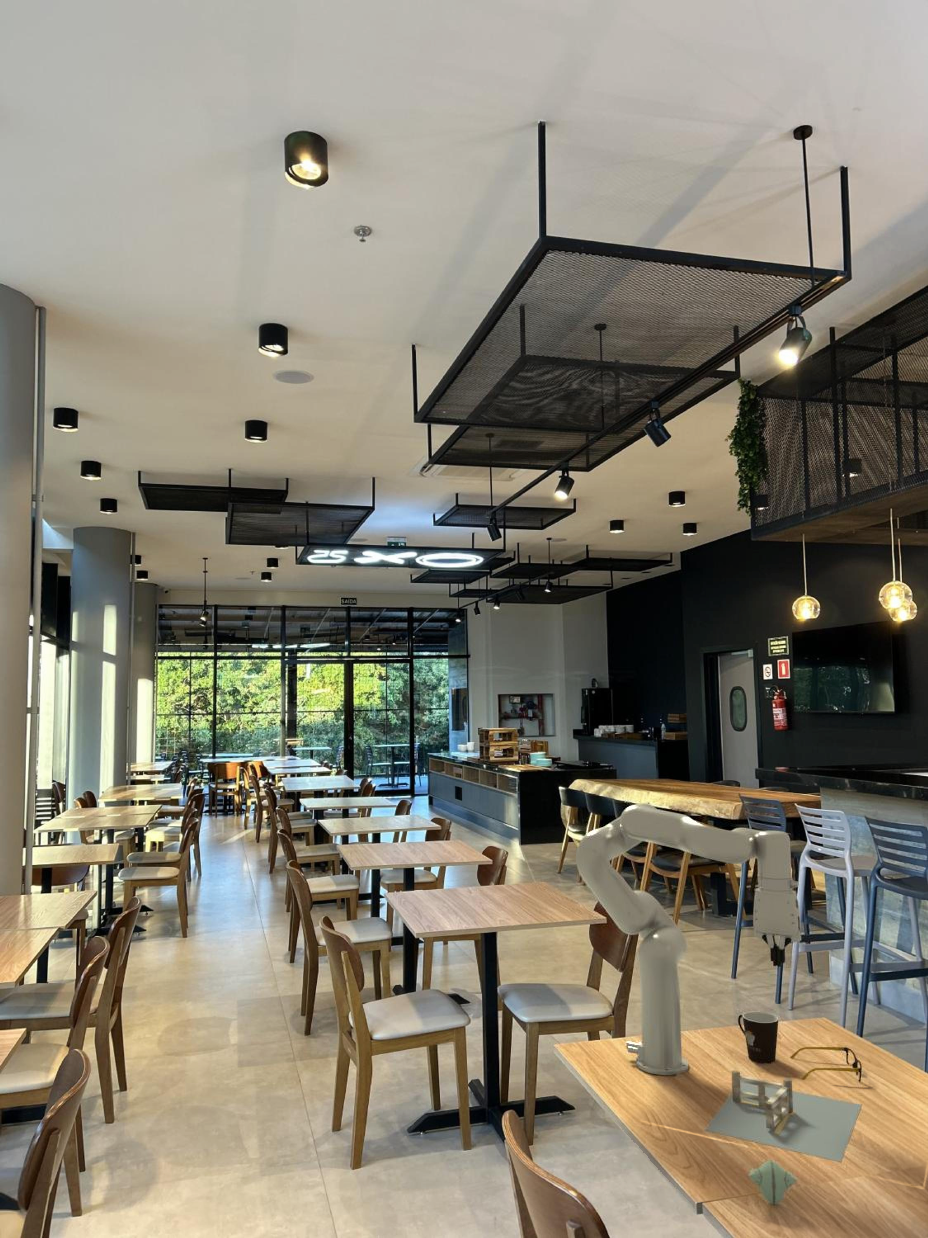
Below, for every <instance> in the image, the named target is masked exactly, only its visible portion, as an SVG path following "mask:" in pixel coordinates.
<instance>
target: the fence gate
mask: <svg viewBox="0 0 928 1238" xmlns="http://www.w3.org/2000/svg"><path fill="white" fill-rule="evenodd" d="M781 1101H782V1105H781ZM765 1105H766V1128H769V1129H773V1128H774V1127H775V1126H776V1125H777V1124H778V1123H779V1122H780V1121H781V1120H782V1119H783V1118H784V1117H785V1116H786V1115H787V1114H788V1113H789V1112H790V1110H789V1088H788V1087H784V1086H783V1085H782V1088H781V1089H780V1090H779V1091H778V1092H776V1093H775V1094H774V1095H773V1096H772V1097H771V1098H770V1099H769V1100H768V1101H767V1102H766V1103H765Z"/></svg>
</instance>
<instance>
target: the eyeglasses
mask: <svg viewBox="0 0 928 1238" xmlns="http://www.w3.org/2000/svg"><path fill="white" fill-rule="evenodd" d="M803 1050H824V1051H825V1050H826V1051H837V1052H838V1051H841V1052H845V1054H846V1055H845V1057H846V1058H845V1059H846V1064H847V1065H849V1066H850V1064H849V1052H851V1053H852V1055H853V1058H854V1062H852V1066H851V1067H815V1068H811V1070H809V1071H808V1072H807V1073H805V1074H804V1075H803V1076H801V1078H800V1080H802V1081H804V1080H806V1078H807V1077H808V1076H809V1075H810V1074H811V1073H812V1072H814V1071H835V1072H836V1071H837V1072H849V1073H850V1072H851V1073H855V1075H856V1076H857V1075H859V1077H858V1078H859V1079H858V1082H861V1080H862V1074H863V1073H862V1067H863V1065H862V1063H861V1061H860V1060H859V1059H858V1057H857V1056H856V1054H855V1052H854V1051H853V1050H852V1049H850V1048H849V1047H846V1046H844V1047H843V1046H803V1047H801V1048H799V1049H798V1050H796V1051H795V1052H794V1053H792V1055H790V1057H789V1058H790V1059H794V1058H795V1057H796V1056H797V1054H799V1053H800V1052H801V1051H803ZM858 1064H859V1065H858ZM858 1066H859V1067H858Z"/></svg>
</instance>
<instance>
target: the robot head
mask: <svg viewBox="0 0 928 1238" xmlns="http://www.w3.org/2000/svg"><path fill="white" fill-rule="evenodd" d="M748 1176H749V1178H750V1179H751V1180H752V1182H753V1183H754V1184H755V1185H757V1187H758V1188H759V1189H760V1191H761V1194H762V1197H764V1199H765V1200H766V1201H767V1202H768V1203H769V1204H772V1205H777V1204H780V1203H781V1202H782V1200H783V1199H784V1197H785V1194H786V1192H787V1191H788V1190H789V1189H790V1188H791V1187H793V1186H794V1184H796V1183H797V1182H798V1179H797V1178H796V1176H795V1174H794V1173H791V1172H788V1171H787V1170H786V1169H784V1168H783V1167H781V1165H779V1163H777V1162H776V1161H774V1160H772V1159H771V1160H766V1161H765V1162H763V1164H761V1166H759V1167H757V1168H755V1169H754V1168H753V1169H750V1172H749V1174H748Z"/></svg>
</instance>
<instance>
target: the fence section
mask: <svg viewBox="0 0 928 1238" xmlns="http://www.w3.org/2000/svg"><path fill="white" fill-rule="evenodd" d="M740 1082H743V1083H748V1084H753V1085H758V1094H754V1093H750V1092H745V1091H741V1086H740ZM783 1086H784V1087H788V1088H789V1110H790V1112H789V1113H793V1096H792V1091H793V1080H792V1079H790V1078H783V1079H782V1083H780V1082H776V1081H770V1080H766V1079H761V1078H755V1077H750V1076H746V1075H741V1072H740V1071H739V1070H731V1093H732V1100H733V1101H734V1102H740V1101H741V1097H742V1098H747V1099H751V1100H756V1101H759V1107H763V1108H765V1106H766V1105H765V1103H766V1102H767V1101H768V1100H769V1099H770V1098H771V1097H769V1096H765V1087H768V1088H773V1089H778V1090H780V1089H781V1088H782V1087H783ZM781 1105H782V1101H781Z"/></svg>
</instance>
